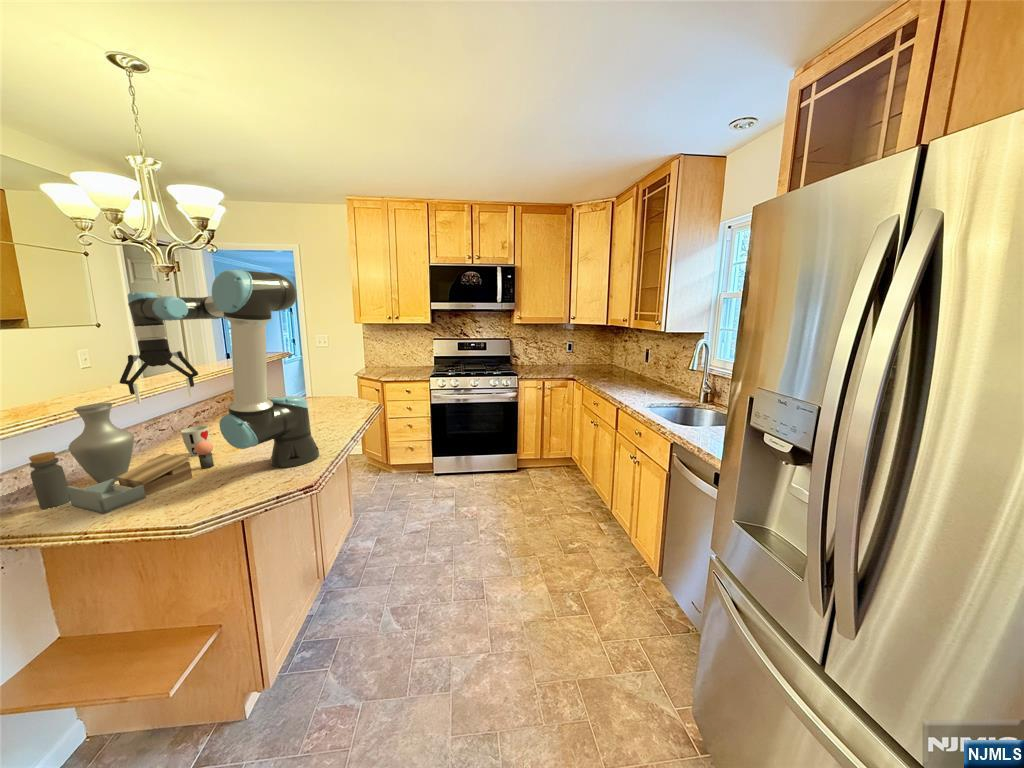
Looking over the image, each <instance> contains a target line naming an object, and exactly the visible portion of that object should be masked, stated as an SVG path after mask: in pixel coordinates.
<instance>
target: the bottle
mask: <svg viewBox="0 0 1024 768" xmlns="http://www.w3.org/2000/svg"><path fill="white" fill-rule="evenodd" d="M28 459H29V460H30V463H29V466H30V468H33V470H32V471H31V472H30V474H29V475H30V478H31V481H32V485H33V487H34V488H33V489H34V492H35V495H36V499H37V502H38V504H39V507H40V509H41V510H49V509H48V508H50V509H54V508H53V507H55V508H58V506H59V507H61V506H64V505H67V504H69V503H71V501H70V497H69V494H68V490H67V486H69V485H68V481H67V479H66V475H65V471H64V468H63V465H59V464H57V463H58V462H59V458H58V457H56V452H54V451H50V452H49V451H48V452H46V451H45V452H41V453H38V454H37V453H36V454H34V455H30V456H29V457H28Z"/></svg>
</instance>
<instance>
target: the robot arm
mask: <svg viewBox="0 0 1024 768" xmlns="http://www.w3.org/2000/svg"><path fill="white" fill-rule="evenodd" d="M158 295H159V294H157V293H156V292H151V291H150V292H149V291H147V292H146V291H137V292H136V291H135V292H133V291H132V292H129V293H128V294H127V300H128V301H127V302H128V303H127V304H128V305H127V306H128V307H129V311H130V314H131V319H132V324H133V328H134V333H135V336H136V339H138V341H137V345H138V350H139V355H138V354H136V355H135V354H129V355H127V363H126V366H125V368H124V370H123V373H122V375H121V377H120V380H119V384H121V385H126V386H128V389H129V394H130V395H135V399H136V404H137V405H139V404H141V403H142V399H141V395H140V392H139V391H140V390H139V386H138V384H137V383H135V382H136V381H137V380H138V378H139V377H140V376H141V375H142V374H143V372H144V371H145V370H146V369H147V368H148V367H153V368H154V367H157V366H161V367H163V366H166V365H167V366H170V367H172V368H173V369H174V370H176V371H178V373H181V374H182V375H184V376H185V377H186V378H185V382H186V386H187V391H188V396H189V398H191V397H193V392H192V388H194V386H195V382H194V378H195V377H197V376H199V372H198V371H197V370H196V368H194V367H193V365H192V364H191V363H190V362H189V361H188V360H187V358H185V356H184V354H183V352H182V351H181V350H178V351H174V352H172V351H171V349H170V347H169V346H170V345H169V342H168V339H167V338H166V337H167V333H166V331H167V330H166V327H165V322H164V321H170V322H171V321H183V320H184V321H185V320H187V321H188V320H217V319H225V320H227V321H228V322H229V323H230V336H231V339H230V340H231V358H232V375H233V376H232V377H233V378H232V379H233V380H232V381H233V396H234V397H233V398H234V399H233V401H231V402H230V403H229V404H228V413H227V414H225V415H223V416H222V417H220V420H219V425H218V426H219V429H220V433H221V435H222V436H223V438H224V440H226V442H227V443H228V444H229V445H230V446H232V447H233V448H235V449H240V450H246V449H249V448H251V447H257V446H258V445H261V444H264V443H266V442H268V441H271V440H273V447H272V451H271V452H272V453H271V456H270V461H271V462H270V463H271V465H272V466H273V467H275V468H291V467H292V468H293V467H297V466H302V465H305V464H308V463H311V462H313V461H315V460H316V459H318V458H319V457H320V449H319V447H318V445H317V444H316V442H315V440H314V438H313V436H312V432H311V424H310V415H309V407H308V404H307V400H306V398H304V397H303V396H296V395H295V396H293V395H291V396H288V395H285V396H273V397H269V398H268V373H267V372H268V369H267V368H268V367H267V366H268V365H267V333H266V332H267V331H266V329H267V327H266V325H267V324H268V323H269V322H270V321H271V320H272V312H281V311H285V310H289V309H290V308H291V307H293V305H294V304H295V303H296V301H297V295H298V294H297V289H296V287H295V285H294V283H293V281H291V280H290V279H289V278H288V277H286V276H284V275H282V274H280V273H275V272H263V271H253V270H252V271H251V270H244V269H227V270H224V271H222V272H220V273H219V274H218V275H217V276H216V277H215V278H214V280H213V282H212V285H211V295H210V296H209V295H208V296H202V297H188V296H187V297H186V296H185V297H184V296H182V297H181V296H179V297H178V296H171V295H170V296H168V295H167V296H166V295H165V296H160V297H159V296H158ZM173 357H175V358H177V359H179V360H180V362H182V363H183V364H184V366H185V367H187V370H186V369H184V368H182V367H181V366H179V364H177V363H175V362H173V361H172V360H171V359H172V358H173ZM138 359H139V360H141V361H142V362H143V364H142V365H141V366H140V367H139V369H138V370H137V371H136V372H135V373H134V375H133V376H131V378H130V379H129V380H128V377H129V375H130V373H131V370H132V368H133V366H134V364H135V362H137V360H138ZM188 370H189V371H190V372H191V373H190V372H188Z"/></svg>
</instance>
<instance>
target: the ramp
mask: <svg viewBox="0 0 1024 768" xmlns="http://www.w3.org/2000/svg"><path fill="white" fill-rule="evenodd" d="M117 478H118V481H117V482H118V485H122V486H127V487H131V488H135V487H137V486H140V485H143V486H144V490H145V494H146V497H147V496H150V495H152V494H155V493H158V492H161V491H162V490H166V489H167V488H171V487H172V486H177V485H178V484H181V483H184V482H186V481H189V480H192V479H193V478H194V477H193V472H192V467H191V463H190V458H189V456H185V455H178V454H177V455H176V454H172V453H171V454H170V453H162V454H160V455H158V456H156V457H154V458H152V459H149V460H148V461H147V462H144V463H142V464H140V465H138V466H137V467H134V468H133V469H130V470H128V471H127V472H126V473H124V474H122V475H120V476H118V477H117Z"/></svg>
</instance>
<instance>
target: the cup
mask: <svg viewBox="0 0 1024 768" xmlns="http://www.w3.org/2000/svg"><path fill="white" fill-rule="evenodd" d="M209 427H210V426H208V425H197V426H192V427H187V428H184V429H182V430H181V431H180V433H181V437H182V440H183V444H184V446H185V448H186V450H187V451H188V453H189V455H190V456H191V457H198V456H199V454H197V453H196V452H195V445H196V444H197V443H198V442H200V441H209V442H210V440H211V439H210V438H211V437H210V436H211V435H210V428H209Z"/></svg>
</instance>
